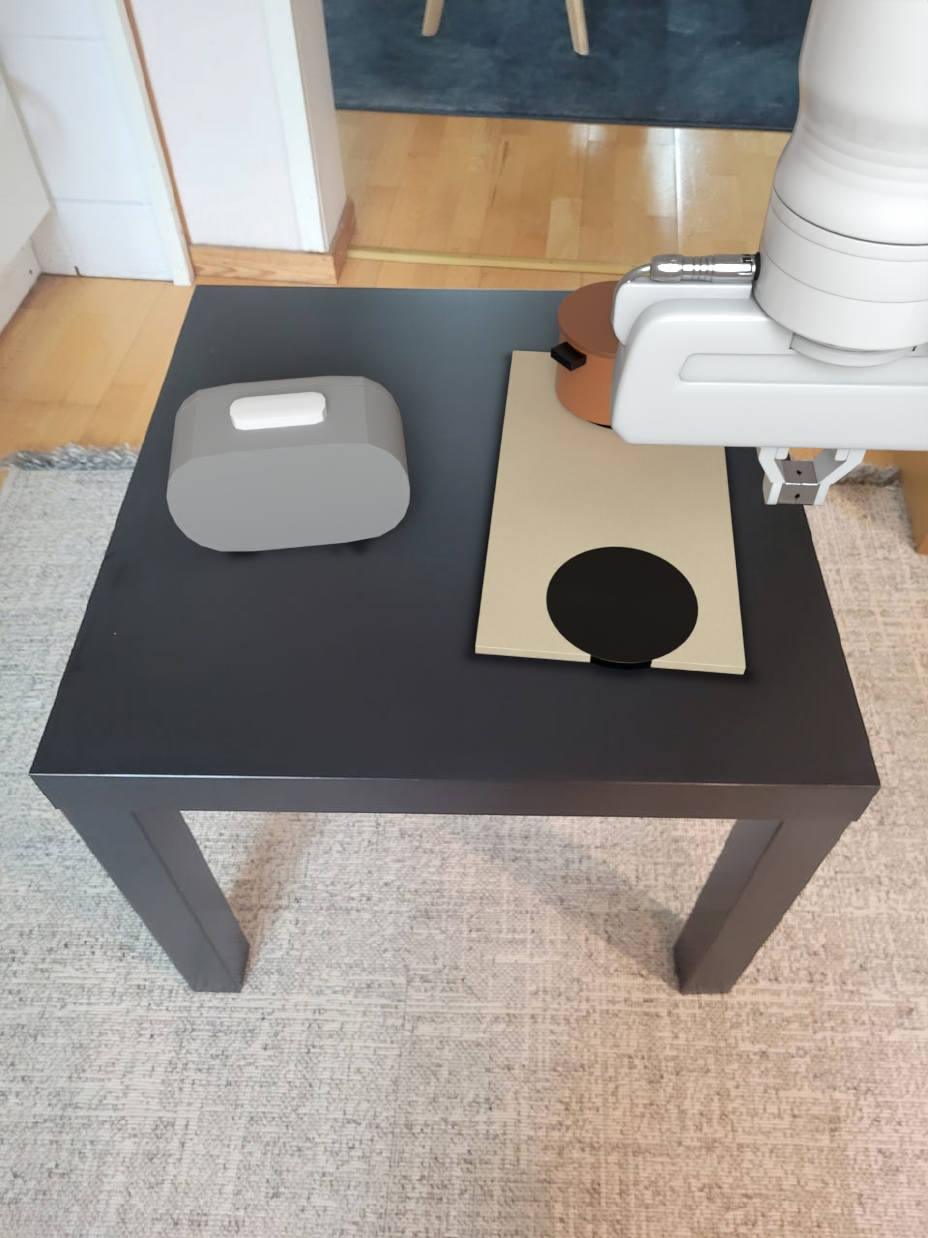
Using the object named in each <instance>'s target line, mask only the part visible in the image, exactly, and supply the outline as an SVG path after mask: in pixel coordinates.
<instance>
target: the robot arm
mask: <svg viewBox="0 0 928 1238" xmlns="http://www.w3.org/2000/svg"><path fill="white" fill-rule="evenodd" d="M801 42H802V43H801V47H800V52H799V58H798V66H797V67H798V68H797V72H798V73H797V74H798V88H799V101H798V111H797V115H796V121H795V122H794V126H793V129H792V131H791V134H790V137H789V138H788V140H787V141H786V144H785V145H784V147H783V149H782V151H781V153H780V155H779V158H778V160H777V163H776V166H775V168H774V173H773V178H772V183H771V187H770V193H769V197H768V201H767V202H768V203H767V207H766V211H765V216H764V221H763V224H762V225H763V226H762V230H761V233H760V237H759V238H760V239H759V244H758V248H757V251H756V252H755V253H718V254H709V255H700V256H699V255H697V256H695V255H694V256H691V255H690V256H689V255H687V256H686V255H683V254H681V253H679V254H678V253H663V254H662V253H661V254H657V255H653V256H651V258H650V263H643V264H640V265H638V266H636V267H634V268H632V269H630V270H629V271H628V272H626V273H625V274H624V275H623V276H622V277H621V278H620V279H619V280H618V281H619V282H618V284H617V286H616V288H615V290H614V294H613V302H612V313H611V327H612V331H613V333H614V335H615V336H616V338H617V339H618V340H619V345H618V349H617V353H616V357H615V362H614V367H613V373H612V379H611V387H610V424H611V427H612V429H613V430H614V431H615V432H616V434H617V435H618V436H619V437H620V438H621V439H622V440H623V441H624V442H625V443H628V444H639V445H686V446H724V447H731V448H732V447H737V448H756V453H757V460H758V462H759V464H760V465H761V467H762V469H763V471H764V476H763V481H762V492H763V499H764V500H763V501H764V504H765V505H774V506H775V505H777V506H778V505H781V506H813V507H814V506H816V507H823V505H824V504H825V502H826V501H825V500H826V498H827V494H828V492H829V489H830V486H831V485H834V484H835V483H837V482H839V480H841V479H842V478H843V477H845V476H846V475H848V473H850V472H851V471H853V470H854V469H855V468H856V467H858V466H859V465H860V464H862V463H863V461H864V458H865V456H866V452H867V450H869V451H871V450H873V451H908V452H909V451H911V452H912V451H915V452H928V0H811V4H810V8H809V12H808V16H807V21H806V25H805V29H804V34H803V37H802V41H801ZM647 274H649V275H647ZM790 449H823V450H822V451H820V452H819V453H818V454H817V455H816V456H815V457H814V458H812V460H787V458H788V455H789V452H790Z"/></svg>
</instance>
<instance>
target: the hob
mask: <svg viewBox="0 0 928 1238" xmlns="http://www.w3.org/2000/svg"><path fill="white" fill-rule="evenodd" d="M550 356H551V351H550V352H549V351H546V352H545V351H533V350H531V351H530V350H515V349H514V350H512V355H511V361H510V362H511V365H510V371H509V378H508V379H509V380H508V387H507V394H506V403H505V409H504V418H503V425H502V434H501V442H500V450H499V456H498V457H499V458H498V465H497V473H496V480H495V489H494V496H493V504H492V511H491V512H492V513H491V519H490V520H491V521H490V527H489V528H490V529H489V535H488V543H487V552H486V558H485V559H486V560H485V567H484V576H483V582H482V583H483V584H482V593H481V597H480V598H481V599H480V607H479V615H478V621H477V629H476V637H475V638H476V639H475V644H474V645H475V647H474V648H475V649H474V650H475V654H482V655H495V656H506V657H520V658H530V659H531V658H533V659H546V660H557V661H569V662H580V663H581V662H582V663H591V662H590V657H591V655H590V654H588V653H585V652H583V651H581V650H580V649H578V648H577V647H575V646H573V645H572V644H571V643H570V642H568V641H567V640H566V639H565V638H564V637H563V636H562V635H561V634H560V633H559V632H558V630H557V629H556V628H555V626H554V624H553V623H552V621H551V619H550V616H549V614H548V610H547V605H546V594H547V588H548V585H549V582H550V580H551V578H552V576H553V575H554V573H555V572H556V571H557V569H558V568H559V567H560V566H561V565H562V564H563V563H565V562H566V561H567V560H569V559H570V558H572V557H574V556H576V555H577V554H580V553H582V552H585V551H588V550H591V549H595V548H601V547H612V546H615V547H629V548H635V549H640V550H643V551H646V552H649V553H652V554H654V555H657V556H659V557H661V558H663V559H664V560H666V561H668V562H669V563H671V564H672V565H673V566H675V567H676V568H677V569H678V570H679V571H680V572H681V573H682V574H683V575H684V576H685V577H686V578H687V580H688V581H689V583H690V584H691V586H692V588H693V590H694V592H695V594H696V598H697V602H698V618H697V623H696V625H695V628H694V630H693V632H692V633H691V635H690V637H689V638H688V639H687V640H686V641H685V642H684V643H683V644H682V645H681V646H680V647H679V648H677V649H676V650H674V651H673V652H671V653H669V654H667V655H665V656H663V657H660V658H657V659H654V660H652V664H651V667H650V668H658V669H671V670H683V671H695V672H706V673H720V674H733V675H744V673H745V670H746V667H747V666H746V656H745V655H746V654H745V646H744V645H745V643H744V636H743V634H744V633H743V624H742V615H741V614H742V613H741V605H740V603H741V602H740V594H739V593H740V592H739V585H738V573H737V572H738V571H737V563H736V552H735V543H734V532H733V523H732V512H731V502H730V489H729V482H728V470H727V461H726V460H727V459H726V450H725V446H686V445H639V444H628V443H625V442H624V441H623V440H622V439H621V438H620V437H619V436H618V435H617V434H616V432H615V431H614V430H613V429H608V428H604V427H601V426H598V425H595V424H593V423H591V422H589V421H587V420H585V419H582V418H580V417H578V416H576V415H575V414H573V413H572V412H570V411H569V410H568V409H567V408H565V407H564V405H563V404H562V403H561V402H560V400H559V398H558V396H557V394H556V389H555V383H556V370H557V361H555V360H554V359H553V358H551V357H550Z"/></svg>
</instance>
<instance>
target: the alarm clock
mask: <svg viewBox="0 0 928 1238" xmlns="http://www.w3.org/2000/svg"><path fill="white" fill-rule="evenodd" d="M172 435H173V436H172V437H173V438H172V443H171V454H170V462H169V471H168V477H167V478H168V479H167V489H166V501H167V506H168V511H169V513H170V515H171V517H172V519H173V521H174V523H175V525H176V526H177V527H178V529H180V531H181V532H182V533H183V534H184V535H185V536H186V538H188V539H189V540H191V541H193V542H194V543H196V544H197V545H199V546H201V547H205V548H208V549H212V550H215V551H217V552H259V551H272V550H281V549H292V548H303V547H304V548H305V547H312V546H313V547H314V546H324V545H334V544H345V543H346V544H347V543H351V542H357V541H361V540H367V539H373V538H378V537H381V536H383V535H384V534H386V533H388V532H390V531H391V530H393V529H395V528H396V527H397V526H398V525H399V524H400V522H401V521H402V520H403V519H404V517H405V516H406V513H407V510H408V508H409V505H410V499H411V498H410V497H411V485H410V478H409V468H408V462H407V461H408V460H407V453H406V445H405V444H406V443H405V437H404V436H405V435H404V427H403V421H402V415H401V412H400V408H399V406H398V404H397V402H396V401H395V399H394V397H393V395H392V393H390V391H388V389H386V388H385V387H384V386H383V385H382V384H381V383H379V382H377V381H374V380H372V379H370V378H367V377H365V376H363V375H320V376H307V377H296V378H283V379H270V380H261V381H258V380H257V381H250V382H249V381H246V382H236V383H235V382H233V383H228V384H223V385H217V386H212V387H207V388H201V389H198V390H196V391H195V392H193V393H192V394H190V395H189V396H187V398H185V399H184V400H183V401H182V403H181V404H180V407H178V410H177V411H176V413H175V419H174V428H173V434H172Z"/></svg>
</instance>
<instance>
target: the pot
mask: <svg viewBox="0 0 928 1238" xmlns="http://www.w3.org/2000/svg"><path fill="white" fill-rule="evenodd" d="M618 282H619V280H605V281H604V280H603V281H598V282H592V283H589V284H586V285H584V286H580V287H579V288H577V289H574V290H573V291H572V292H571V293H569V294H568V295H567V296H565V297H564V298H563V300H562V301H561V303H560V305H559V307H558V310H557V326H558V328H559V331H558V332H559V334H558V344H557V345H555V346H552V347H551V348H550V352H551V356H550V357H551V358H553V359H554V360H555V361H557V370H556V383H555V389H556V394H557V396H558V398H559V400H560V402H561V403H562V404H563V405H564V407H565V408H567V409H568V410H569V411H570V412H572V413H573V414H575V415H576V416H578V417H580V418H582V419H585V420H587V421H590V422H594V423H598V424H603V425H611V424H610V387H611V379H612V373H613V367H614V362H615V357H616V353H617V349H618V345H619V340H618V339H617V338H616V336H615V335H614V333H613V331H612V327H611V313H612V302H613V294H614V290H615V288H616V286H617V284H618Z"/></svg>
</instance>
